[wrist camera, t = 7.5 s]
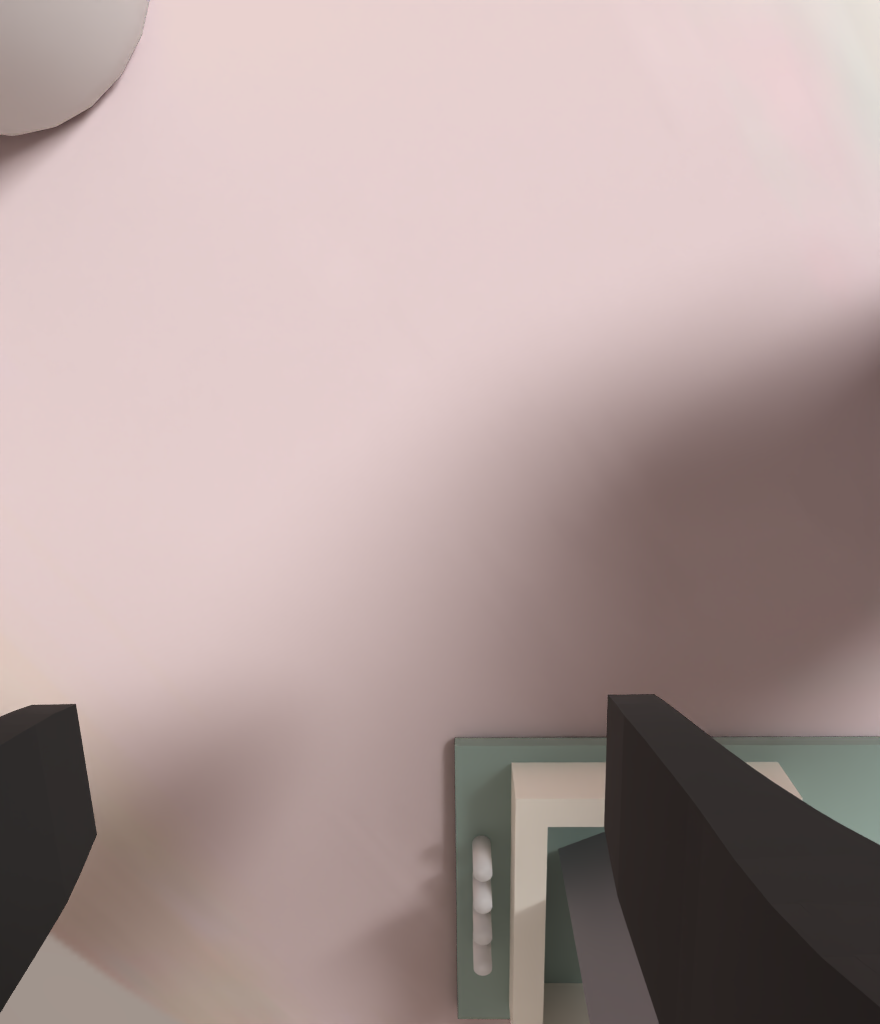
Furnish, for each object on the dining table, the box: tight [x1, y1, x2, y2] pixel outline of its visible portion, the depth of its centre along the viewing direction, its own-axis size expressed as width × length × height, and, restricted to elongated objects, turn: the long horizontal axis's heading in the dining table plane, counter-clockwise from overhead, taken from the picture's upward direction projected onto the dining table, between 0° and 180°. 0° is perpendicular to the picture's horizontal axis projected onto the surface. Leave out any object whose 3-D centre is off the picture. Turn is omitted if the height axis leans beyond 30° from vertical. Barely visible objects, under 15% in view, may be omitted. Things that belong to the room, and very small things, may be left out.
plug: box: [558, 832, 659, 1024], centre depth 19 cm, size 3×4×7 cm
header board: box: [455, 737, 880, 1024], centre depth 22 cm, size 12×9×3 cm
